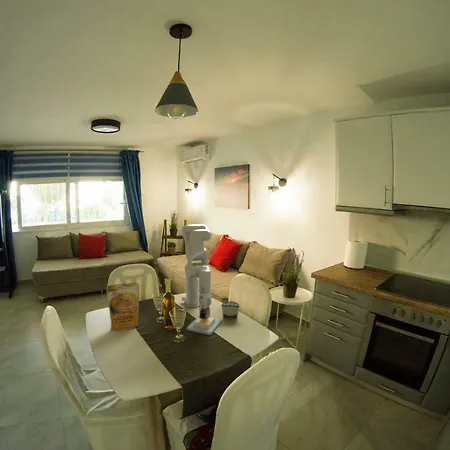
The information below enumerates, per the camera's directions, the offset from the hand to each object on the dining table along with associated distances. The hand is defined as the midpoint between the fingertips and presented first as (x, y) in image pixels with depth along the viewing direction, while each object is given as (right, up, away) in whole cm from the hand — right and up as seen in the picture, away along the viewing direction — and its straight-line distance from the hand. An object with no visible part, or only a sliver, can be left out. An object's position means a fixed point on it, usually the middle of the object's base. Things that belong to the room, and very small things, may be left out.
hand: (204, 316), depth 182 cm
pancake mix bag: (-50, -7, -2) cm, 50 cm away
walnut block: (0, -1, 0) cm, 1 cm away
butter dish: (0, -7, +1) cm, 7 cm away
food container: (+17, -5, +14) cm, 22 cm away
